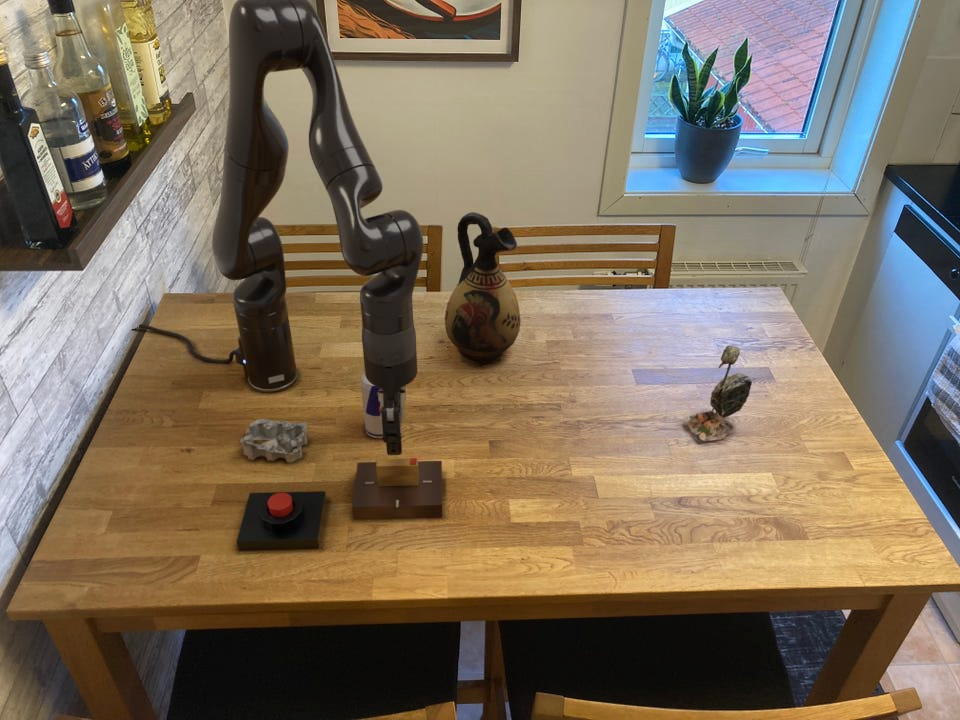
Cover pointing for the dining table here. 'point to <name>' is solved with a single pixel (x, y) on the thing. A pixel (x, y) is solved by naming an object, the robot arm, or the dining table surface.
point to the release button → (280, 505)
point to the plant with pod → (722, 402)
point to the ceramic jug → (482, 297)
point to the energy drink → (371, 408)
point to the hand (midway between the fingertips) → (395, 434)
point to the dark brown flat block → (398, 494)
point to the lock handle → (397, 472)
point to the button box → (283, 523)
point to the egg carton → (274, 439)
